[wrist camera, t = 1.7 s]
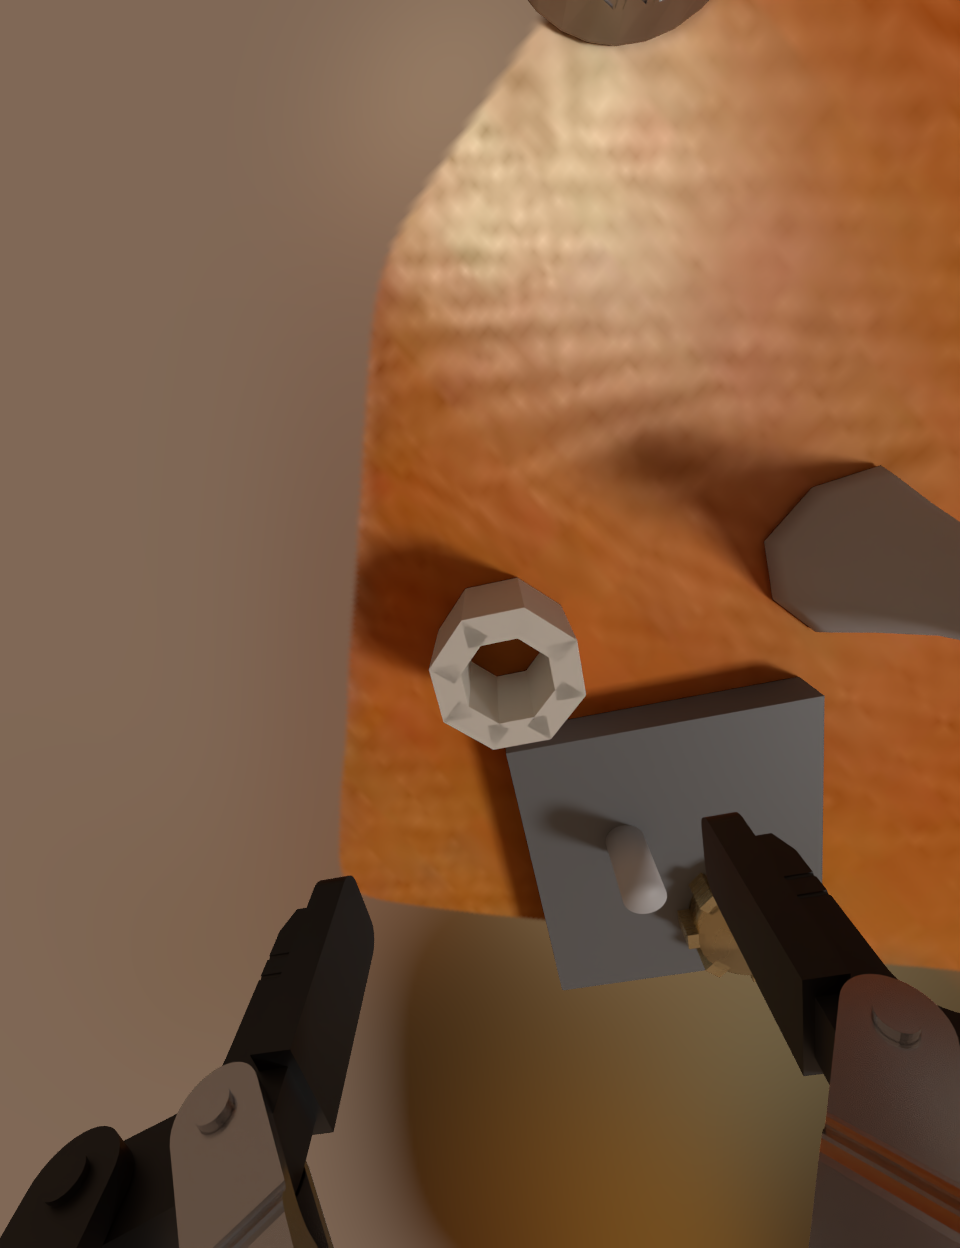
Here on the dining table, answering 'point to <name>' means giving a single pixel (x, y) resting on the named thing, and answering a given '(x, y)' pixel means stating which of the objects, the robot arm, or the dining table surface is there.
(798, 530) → the flask
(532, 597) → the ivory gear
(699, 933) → the brass gear
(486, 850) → the dining table surface
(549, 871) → the board
